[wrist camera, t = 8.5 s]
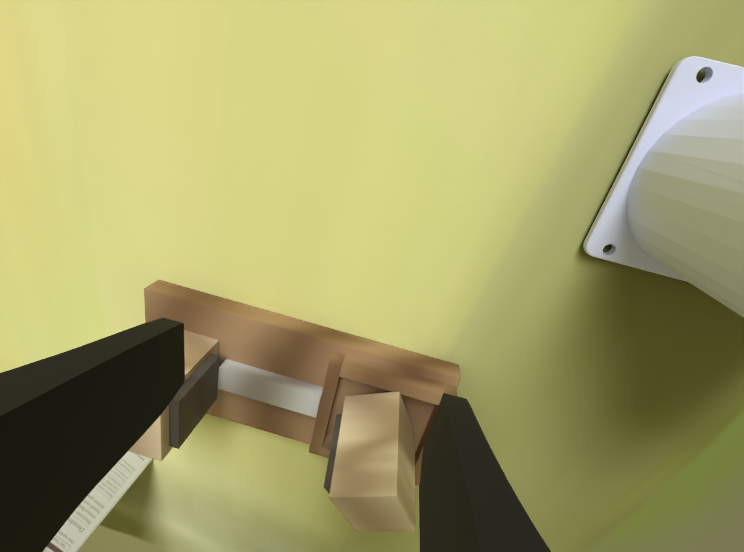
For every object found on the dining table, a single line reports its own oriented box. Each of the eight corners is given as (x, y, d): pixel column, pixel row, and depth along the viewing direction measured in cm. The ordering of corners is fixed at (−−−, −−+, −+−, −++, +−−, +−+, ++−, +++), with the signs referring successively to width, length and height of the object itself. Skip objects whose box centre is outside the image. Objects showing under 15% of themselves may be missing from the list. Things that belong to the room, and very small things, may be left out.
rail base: (459, 365, 21) (469, 458, 15) (419, 460, 24) (415, 566, 18) (158, 279, 21) (61, 337, 16) (161, 383, 25) (81, 462, 19)
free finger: (399, 391, 19) (396, 496, 15) (414, 431, 21) (415, 530, 17) (336, 396, 20) (318, 497, 16) (357, 434, 22) (346, 530, 18)
